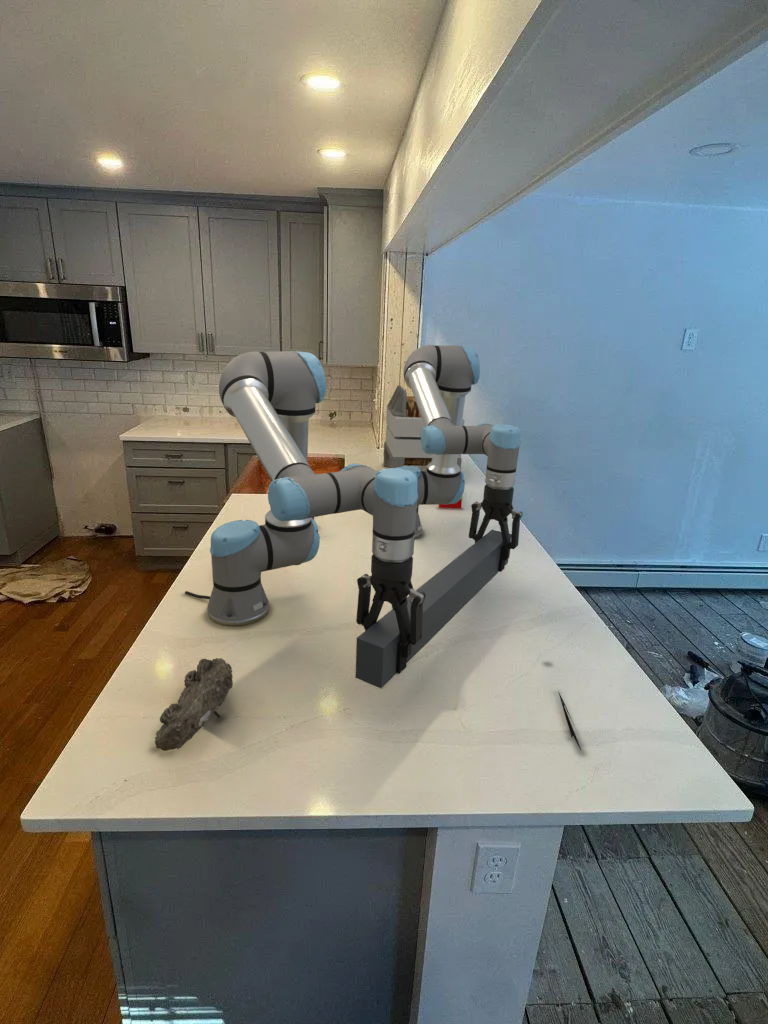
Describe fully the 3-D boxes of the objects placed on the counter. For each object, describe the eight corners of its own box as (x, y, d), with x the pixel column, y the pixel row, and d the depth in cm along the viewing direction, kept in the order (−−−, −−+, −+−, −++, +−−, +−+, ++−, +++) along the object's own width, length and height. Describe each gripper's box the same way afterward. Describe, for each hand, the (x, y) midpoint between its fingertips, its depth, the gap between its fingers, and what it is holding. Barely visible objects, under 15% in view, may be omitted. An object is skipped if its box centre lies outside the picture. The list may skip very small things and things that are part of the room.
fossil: (182, 659, 118) (233, 627, 113) (214, 689, 120) (265, 659, 115) (130, 744, 98) (189, 710, 93) (170, 778, 101) (229, 746, 96)
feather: (547, 667, 130) (553, 661, 129) (581, 755, 103) (588, 747, 102) (541, 664, 129) (547, 657, 129) (573, 750, 103) (580, 743, 102)
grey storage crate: (382, 463, 289) (386, 382, 275) (445, 464, 293) (451, 384, 279) (390, 482, 257) (394, 392, 243) (460, 483, 261) (468, 394, 247)
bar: (488, 557, 161) (491, 529, 158) (507, 562, 159) (511, 534, 156) (355, 677, 106) (356, 637, 103) (381, 689, 103) (383, 648, 101)
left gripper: (337, 548, 104) (336, 656, 112) (429, 576, 95) (419, 691, 102) (361, 536, 110) (357, 639, 118) (448, 561, 101) (438, 671, 108)
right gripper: (460, 481, 148) (452, 562, 156) (530, 496, 139) (518, 581, 147) (471, 475, 154) (464, 553, 162) (539, 489, 145) (527, 571, 153)
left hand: (386, 663), depth 110 cm, fingers closed on bar, 6 cm apart
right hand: (489, 566), depth 154 cm, fingers closed on bar, 6 cm apart
